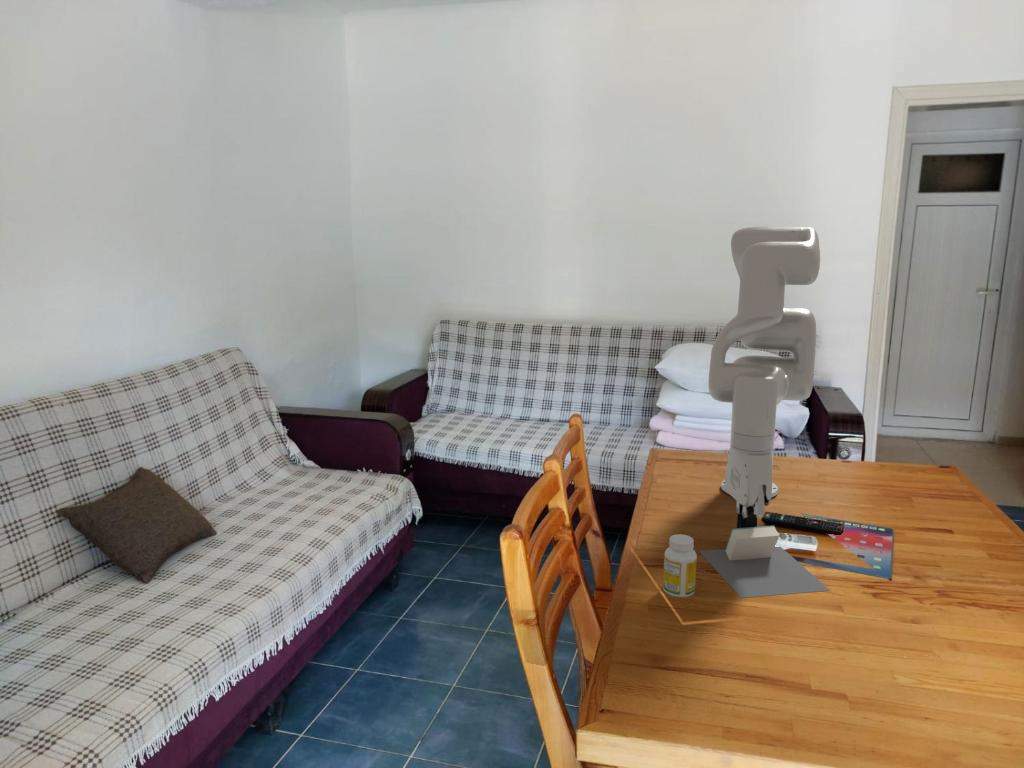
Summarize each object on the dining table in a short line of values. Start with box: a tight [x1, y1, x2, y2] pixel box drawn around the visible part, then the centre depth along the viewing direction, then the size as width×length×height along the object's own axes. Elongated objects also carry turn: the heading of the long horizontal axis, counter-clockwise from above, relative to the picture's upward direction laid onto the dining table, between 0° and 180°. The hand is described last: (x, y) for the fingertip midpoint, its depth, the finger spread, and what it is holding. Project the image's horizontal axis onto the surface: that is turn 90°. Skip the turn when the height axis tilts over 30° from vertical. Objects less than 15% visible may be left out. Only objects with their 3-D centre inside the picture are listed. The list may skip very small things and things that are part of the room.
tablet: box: [791, 513, 895, 582], centre depth 145 cm, size 19×25×1 cm
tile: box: [724, 525, 780, 560], centre depth 137 cm, size 2×8×6 cm, turn 99°
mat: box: [699, 546, 831, 599], centre depth 134 cm, size 18×16×1 cm
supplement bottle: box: [662, 533, 698, 598], centre depth 126 cm, size 5×5×10 cm
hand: (746, 534), depth 139 cm, fingers closed
